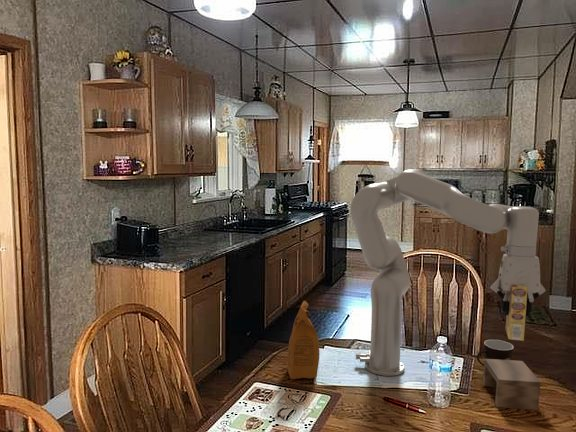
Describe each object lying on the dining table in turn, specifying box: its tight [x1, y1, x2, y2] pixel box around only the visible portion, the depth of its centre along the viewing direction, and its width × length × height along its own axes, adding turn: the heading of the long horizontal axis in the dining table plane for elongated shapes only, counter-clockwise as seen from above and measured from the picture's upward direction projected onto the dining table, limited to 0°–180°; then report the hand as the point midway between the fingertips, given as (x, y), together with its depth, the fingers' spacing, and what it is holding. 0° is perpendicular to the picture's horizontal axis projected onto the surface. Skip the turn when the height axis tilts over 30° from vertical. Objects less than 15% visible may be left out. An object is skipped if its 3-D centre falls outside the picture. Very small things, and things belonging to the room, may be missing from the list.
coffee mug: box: [476, 339, 515, 367], centre depth 159 cm, size 12×9×10 cm
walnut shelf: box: [482, 358, 542, 411], centre depth 145 cm, size 11×14×8 cm
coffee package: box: [286, 300, 320, 380], centre depth 158 cm, size 10×12×22 cm
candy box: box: [505, 285, 528, 342], centre depth 142 cm, size 9×4×15 cm, turn 163°
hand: (515, 313), depth 143 cm, fingers closed on candy box, 4 cm apart
